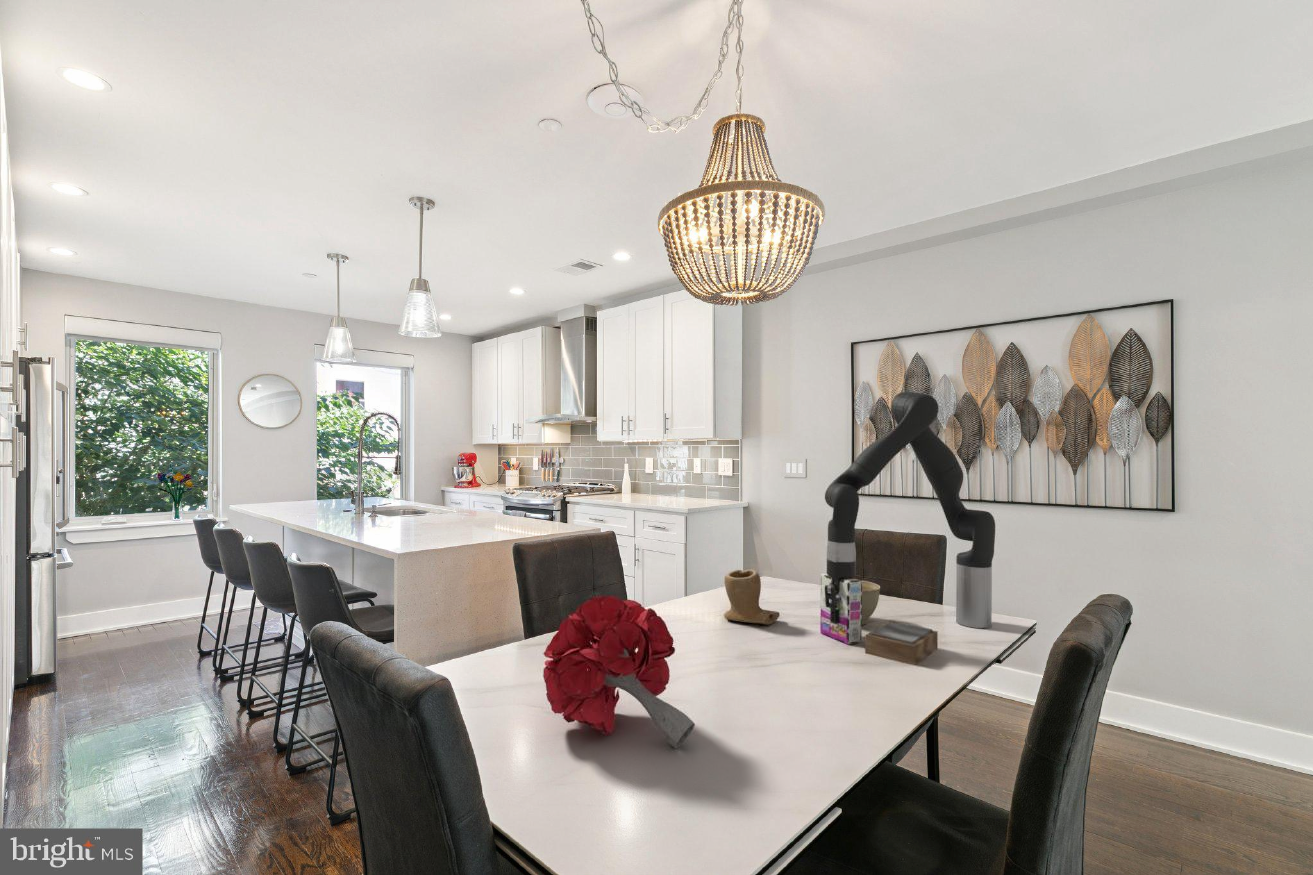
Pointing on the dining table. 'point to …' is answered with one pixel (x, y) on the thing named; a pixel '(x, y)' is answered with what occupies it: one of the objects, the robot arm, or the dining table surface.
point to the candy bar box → (843, 611)
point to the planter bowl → (869, 599)
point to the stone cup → (746, 598)
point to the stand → (901, 642)
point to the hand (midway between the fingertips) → (840, 620)
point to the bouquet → (612, 666)
